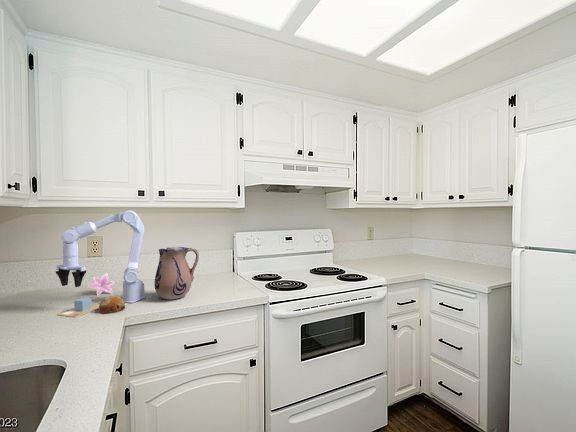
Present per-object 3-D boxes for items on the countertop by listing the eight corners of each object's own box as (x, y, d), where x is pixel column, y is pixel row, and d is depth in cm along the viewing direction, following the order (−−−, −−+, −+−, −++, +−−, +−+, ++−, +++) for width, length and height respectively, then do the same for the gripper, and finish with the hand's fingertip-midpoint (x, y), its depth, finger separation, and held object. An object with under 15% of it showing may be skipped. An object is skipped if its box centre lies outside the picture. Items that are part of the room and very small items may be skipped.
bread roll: (119, 313, 140) (113, 297, 141) (132, 307, 135) (127, 290, 137) (97, 320, 131) (92, 303, 132) (111, 314, 126) (105, 296, 128)
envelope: (90, 303, 142) (90, 302, 142) (107, 305, 140) (107, 304, 140) (57, 315, 127) (57, 314, 127) (75, 317, 124) (75, 316, 124)
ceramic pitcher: (153, 295, 156) (153, 247, 156) (195, 289, 166) (194, 244, 165) (155, 304, 141) (155, 251, 140) (201, 298, 150) (201, 248, 150)
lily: (83, 298, 154) (87, 283, 151) (90, 284, 164) (94, 270, 161) (109, 302, 159) (113, 288, 156) (114, 288, 169) (119, 275, 166)
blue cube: (83, 307, 136) (83, 297, 136) (91, 308, 135) (91, 298, 135) (74, 310, 132) (74, 300, 131) (82, 311, 130) (82, 301, 130)
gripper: (49, 256, 134) (50, 287, 134) (75, 258, 130) (75, 289, 130) (64, 254, 141) (65, 283, 141) (89, 255, 137) (90, 285, 137)
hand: (71, 286), depth 136 cm, fingers open, 7 cm apart
